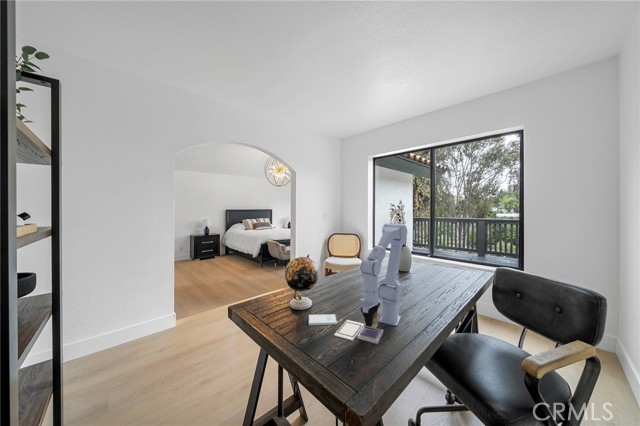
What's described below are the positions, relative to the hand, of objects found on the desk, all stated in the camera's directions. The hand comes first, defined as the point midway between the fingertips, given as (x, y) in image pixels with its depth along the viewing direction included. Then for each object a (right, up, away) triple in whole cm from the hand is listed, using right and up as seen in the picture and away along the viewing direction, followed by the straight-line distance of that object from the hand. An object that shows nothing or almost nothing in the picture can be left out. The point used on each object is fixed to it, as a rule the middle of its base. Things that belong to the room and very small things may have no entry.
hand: (370, 323), depth 95 cm
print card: (-8, -5, +4) cm, 10 cm away
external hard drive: (-19, -6, +13) cm, 24 cm away
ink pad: (0, -5, 0) cm, 5 cm away
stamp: (0, -1, 0) cm, 1 cm away
